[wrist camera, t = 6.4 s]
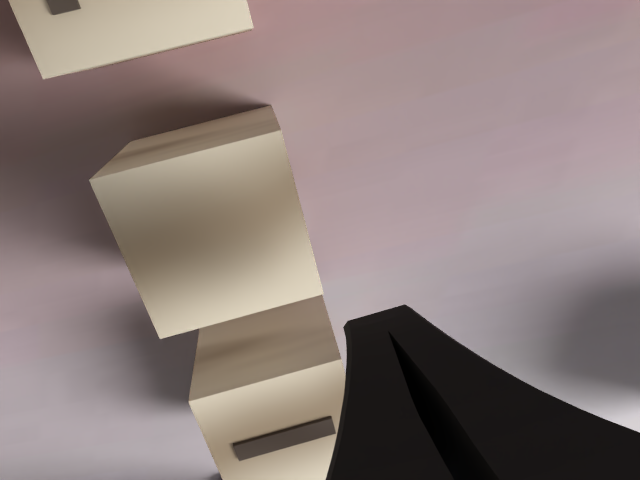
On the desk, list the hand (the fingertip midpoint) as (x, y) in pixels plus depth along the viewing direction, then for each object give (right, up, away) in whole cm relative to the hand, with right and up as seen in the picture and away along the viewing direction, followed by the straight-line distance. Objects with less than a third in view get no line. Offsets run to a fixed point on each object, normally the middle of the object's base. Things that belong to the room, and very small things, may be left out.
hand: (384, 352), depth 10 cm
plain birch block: (-5, +4, +8) cm, 10 cm away
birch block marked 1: (-3, -2, +11) cm, 12 cm away
